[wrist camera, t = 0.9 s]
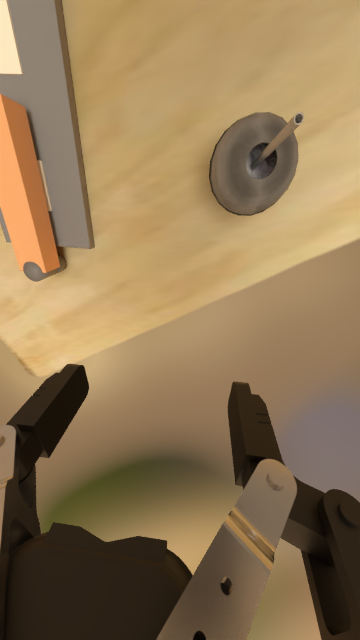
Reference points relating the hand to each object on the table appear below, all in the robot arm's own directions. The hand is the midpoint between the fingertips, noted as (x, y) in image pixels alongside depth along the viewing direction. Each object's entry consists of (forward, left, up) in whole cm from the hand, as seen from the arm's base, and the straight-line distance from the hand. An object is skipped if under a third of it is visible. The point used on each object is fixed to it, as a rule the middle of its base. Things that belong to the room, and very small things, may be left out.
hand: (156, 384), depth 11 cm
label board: (-12, -23, -26) cm, 37 cm away
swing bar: (-7, -23, -24) cm, 34 cm away
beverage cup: (-11, +5, -27) cm, 29 cm away
